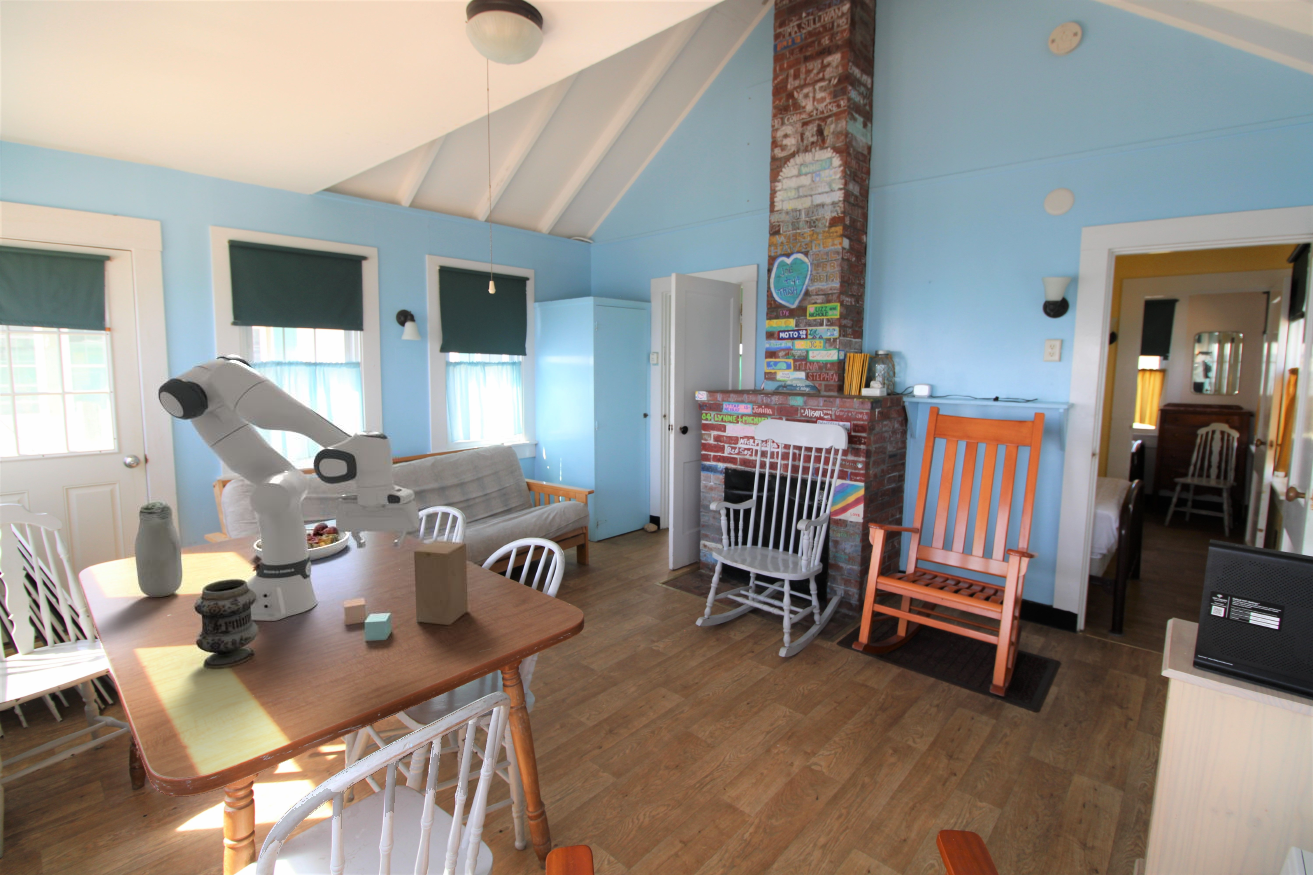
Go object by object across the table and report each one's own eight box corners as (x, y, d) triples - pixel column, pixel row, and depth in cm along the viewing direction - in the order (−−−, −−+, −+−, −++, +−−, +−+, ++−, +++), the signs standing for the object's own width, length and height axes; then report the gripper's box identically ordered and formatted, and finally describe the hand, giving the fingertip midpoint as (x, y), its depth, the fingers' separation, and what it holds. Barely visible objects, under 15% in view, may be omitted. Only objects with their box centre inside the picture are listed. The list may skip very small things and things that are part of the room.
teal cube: (365, 640, 155) (364, 622, 154) (371, 632, 159) (370, 613, 159) (386, 639, 155) (385, 620, 155) (391, 631, 160) (390, 612, 160)
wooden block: (449, 626, 164) (447, 553, 161) (415, 622, 166) (413, 550, 163) (468, 611, 173) (466, 542, 171) (436, 607, 175) (433, 539, 173)
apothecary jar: (250, 667, 141) (244, 591, 138) (188, 674, 137) (181, 597, 135) (267, 643, 152) (262, 573, 150) (210, 649, 149) (204, 578, 146)
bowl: (321, 566, 208) (320, 544, 207) (234, 565, 209) (232, 542, 208) (364, 541, 238) (363, 521, 237) (287, 539, 239) (286, 519, 238)
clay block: (345, 625, 163) (344, 607, 163) (344, 618, 168) (343, 600, 167) (366, 621, 166) (365, 603, 165) (364, 614, 170) (363, 597, 169)
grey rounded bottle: (132, 603, 175) (123, 507, 172) (153, 589, 185) (145, 499, 182) (172, 600, 177) (163, 506, 174) (190, 587, 187) (183, 498, 184)
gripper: (328, 498, 153) (333, 551, 154) (410, 497, 153) (414, 550, 154) (341, 492, 159) (345, 544, 161) (420, 491, 159) (423, 543, 161)
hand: (379, 547), depth 158 cm, fingers open, 8 cm apart
